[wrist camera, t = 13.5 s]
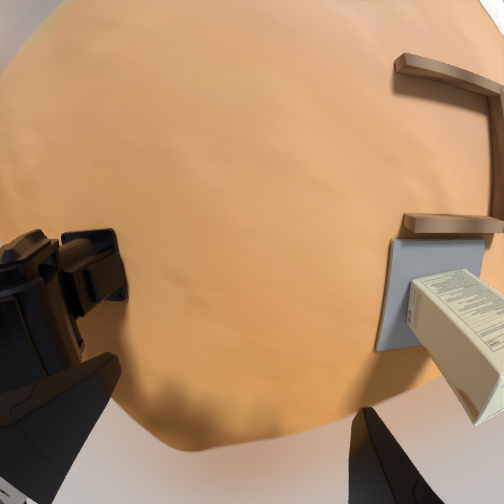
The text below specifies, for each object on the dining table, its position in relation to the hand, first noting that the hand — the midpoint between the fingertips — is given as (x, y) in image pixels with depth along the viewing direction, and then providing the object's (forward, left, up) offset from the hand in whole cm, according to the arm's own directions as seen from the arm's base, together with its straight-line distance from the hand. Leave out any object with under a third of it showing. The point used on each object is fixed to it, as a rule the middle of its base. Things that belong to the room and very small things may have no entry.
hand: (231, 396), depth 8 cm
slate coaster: (+15, -3, -13) cm, 20 cm away
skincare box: (+15, -3, -12) cm, 20 cm away
